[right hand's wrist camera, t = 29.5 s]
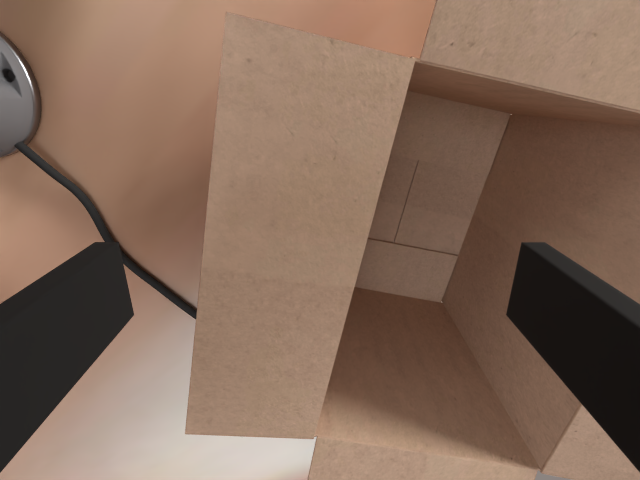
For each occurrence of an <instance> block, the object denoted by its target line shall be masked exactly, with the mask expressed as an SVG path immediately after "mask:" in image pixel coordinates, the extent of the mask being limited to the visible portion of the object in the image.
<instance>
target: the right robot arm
mask: <svg viewBox="0 0 640 480" xmlns="http://www.w3.org/2000/svg"><path fill="white" fill-rule="evenodd" d="M40 117H41V98H40V93H39V88H38V85H37V82H36V79H35V77H34V74H33V72H32V70H31V68H30V66H29V65H28V63H27V61H26V60H25V58H24V57H23V55H22V54H21V52H20V51H19V50H18V49H17V47H16V46H15V45H14V44H13V43H12V42H11V41H10V40H9V39H8V38H7V37H6V36H5V35H3V34H2V33H1V32H0V157H3V156H7V155H11V154H13V153H16V152H18V151H21V152H22V153H23V154H24V155H25V156H27V157H28V158H29V159H30V160H31V161H33V162H34V163H35V164H36V165H37V166H39V167H40V168H41V169H42V170H43V171H45V172H46V173H47V174H48V175H50V176H51V177H52V178H53V179H55V180H56V181H57V182H59V183H60V184H62V185H63V186H64V187H66V188H67V189H68V190H69V191H71V192H72V193H73V194H74V195H75V196H76V197H77V198H78V199H79V201H80V202H81V203H82V204H83V205H84V207H85V208H86V210H87V211H88V213H89V214H90V216H91V218H92V219H93V221H94V223H95V225H96V227H97V229H98V231H99V233H100V234H101V236H102V238H103V240H104V241H105V242H95V243H93V244H92V245H90V246H89V247H87V248H86V249H84V250H82V251H81V252H79V253H78V254H76V255H75V256H73V257H72V258H70V259H69V260H67V261H66V262H64V263H63V264H61V265H59V266H58V267H56V268H55V269H53V270H52V271H50V272H49V273H47V274H46V275H44V276H43V277H41V278H40V279H38V280H36V281H35V282H33V283H32V284H30V285H29V286H27V287H26V288H24V289H23V290H21V291H20V292H18V293H17V294H15V295H13V296H12V297H10V298H9V299H7V300H6V301H4V302H3V303H1V304H0V472H1V471H2V470H3V469H4V468H5V466H6V465H7V464H8V463H9V462H10V461H11V459H12V458H13V457H14V456H15V455H16V453H17V452H18V451H19V450H20V449H21V448H22V446H23V445H24V444H25V443H26V442H27V440H28V439H29V438H30V437H31V436H32V435H33V433H34V432H35V431H36V430H37V429H38V428H39V426H40V425H41V424H42V423H43V422H44V420H45V419H46V418H47V417H48V416H49V415H50V413H51V412H52V411H53V410H54V409H55V407H56V406H57V405H58V404H59V403H60V402H61V400H62V399H63V398H64V397H65V396H66V394H67V393H68V392H69V391H70V390H71V389H72V387H73V386H74V385H75V384H76V383H77V382H78V380H79V379H80V378H81V377H82V376H83V374H84V373H85V372H86V371H87V370H88V369H89V367H90V366H91V365H92V364H93V363H94V361H95V360H96V359H97V358H98V357H99V356H100V354H101V353H102V352H103V351H104V350H105V349H106V347H107V346H108V345H109V344H110V343H111V341H112V340H113V339H114V338H115V337H116V336H117V334H118V333H119V332H120V331H121V330H122V328H123V327H124V326H125V325H126V324H127V323H128V321H129V320H130V319H131V318H132V317H133V315H134V313H133V308H132V303H131V298H130V294H129V289H128V284H127V280H126V275H125V270H124V266H123V264H125V265H126V266H127V267H128V268H129V269H130V270H131V271H132V272H134V273H135V274H136V275H138V276H139V277H140V278H141V279H143V280H144V281H145V282H147V283H148V284H149V285H151V286H152V287H153V288H155V289H156V290H157V291H159V292H160V293H161V294H163V295H164V296H165V297H166V298H168V299H169V300H170V301H172V302H173V303H174V304H176V305H177V306H178V307H180V308H181V309H182V310H184V311H185V312H186V313H188V314H189V315H191V316H192V317H193V318H195V319H196V315H197V311H196V310H194V309H193V308H192V307H190V306H189V305H188V304H186V303H185V302H184V301H182V300H181V299H180V298H178V297H177V296H176V295H174V294H173V293H172V292H171V291H169V290H168V289H167V288H165V287H164V286H163V285H162V284H160V283H159V282H158V281H156V280H155V279H154V278H152V277H151V276H150V275H148V274H147V273H146V272H145V271H143V270H142V269H141V268H139V267H138V266H137V265H136V264H135V263H134V262H133V261H131V260H130V259H129V258H128V257H127V256H126V255H125V254H124V253H123V251H122V250H121V249H120V247H119V242H114V240H113V239H112V237H111V235H110V234H109V232H108V230H107V228H106V226H105V224H104V222H103V220H102V218H101V217H100V215H99V213H98V211H97V210H96V208H95V207H94V205H93V204H92V202H91V201H90V200H89V198H88V197H87V196H86V195H85V194H84V193H83V192H82V191H81V190H80V189H79V188H78V187H77V186H76V185H75V184H74V183H72V182H71V181H70V180H68V179H67V178H66V177H64V176H63V175H62V174H60V173H59V172H58V171H57V170H55V169H54V168H53V167H52V166H50V165H49V164H48V163H47V162H46V161H44V160H43V159H42V158H41V157H40V156H39V155H37V154H36V153H35V152H34V151H33V150H31V149H30V148H29V147H28V146H27V144H28V143H29V142H30V141H31V140H32V138H33V137H34V135H35V133H36V131H37V129H38V126H39V123H40ZM506 315H507V317H508V318H509V319H510V320H511V321H512V323H513V324H514V325H515V326H516V327H517V328H518V330H519V331H520V332H521V333H522V334H523V336H524V337H525V338H526V339H527V340H528V341H529V343H530V344H531V345H532V346H533V347H534V349H535V350H536V351H537V352H538V353H539V354H540V356H541V357H542V358H543V359H544V360H545V361H546V363H547V364H548V365H549V366H550V367H551V369H552V370H553V371H554V372H555V373H556V374H557V376H558V377H559V378H560V379H561V380H562V382H563V383H564V384H565V385H566V386H567V387H568V389H569V390H570V391H571V392H572V393H573V394H574V396H575V397H576V398H577V399H578V400H579V402H580V403H581V404H582V405H583V406H584V407H585V409H586V410H587V411H588V412H589V413H590V415H591V416H592V417H593V418H594V419H595V420H596V422H597V423H598V424H599V425H600V426H601V428H602V429H603V430H604V431H605V432H606V433H607V435H608V436H609V437H610V438H611V439H612V440H613V442H614V443H615V444H616V445H617V446H618V448H619V449H620V450H621V451H622V452H623V453H624V455H625V456H626V457H627V458H628V459H629V461H630V462H631V463H632V464H633V465H634V466H635V468H636V469H637V470H638V471H639V472H640V304H639V303H637V302H636V301H634V300H633V299H631V298H630V297H628V296H627V295H625V294H623V293H622V292H620V291H619V290H617V289H616V288H614V287H613V286H611V285H610V284H608V283H607V282H605V281H604V280H602V279H600V278H599V277H597V276H596V275H594V274H593V273H591V272H590V271H588V270H587V269H585V268H584V267H582V266H581V265H579V264H577V263H576V262H574V261H573V260H571V259H570V258H568V257H567V256H565V255H564V254H562V253H561V252H559V251H558V250H556V249H554V248H553V247H551V246H550V245H548V244H547V243H545V242H521V247H520V251H519V256H518V261H517V265H516V270H515V275H514V280H513V284H512V289H511V294H510V298H509V303H508V308H507V313H506Z"/></svg>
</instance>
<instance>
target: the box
mask: <svg viewBox="0 0 640 480" xmlns="http://www.w3.org/2000/svg"><path fill="white" fill-rule="evenodd" d="M511 114H512V115H511ZM415 168H416V169H415ZM413 175H414V176H413ZM412 178H413V179H412ZM410 185H411V186H410ZM409 188H410V189H409ZM407 195H408V196H407ZM406 198H407V199H406ZM404 205H405V206H404ZM401 215H402V216H401ZM399 222H400V223H399ZM398 225H399V226H398ZM396 232H397V233H396ZM395 235H396V236H395ZM393 242H394V243H393ZM521 242H545V243H547V244H548V245H550V246H551V247H553V248H554V249H556V250H558V251H559V252H561V253H562V254H564V255H565V256H567V257H568V258H570V259H571V260H573V261H574V262H576V263H577V264H579V265H581V266H582V267H584V268H585V269H587V270H588V271H590V272H591V273H593V274H594V275H596V276H597V277H599V278H600V279H602V280H604V281H605V282H607V283H608V284H610V285H611V286H613V287H614V288H616V289H617V290H619V291H620V292H622V293H623V294H625V295H627V296H628V297H630V298H631V299H633V300H634V301H636V302H637V303H639V304H640V0H436V3H435V7H434V10H433V14H432V17H431V21H430V24H429V28H428V31H427V35H426V38H425V42H424V45H423V49H422V52H421V56H420V59H418V58H414V57H410V58H409V57H405V56H401V55H397V54H393V53H389V52H385V51H381V50H377V49H373V48H369V47H365V46H361V45H357V44H353V43H349V42H345V41H341V40H337V39H333V38H329V37H325V36H321V35H317V34H313V33H309V32H305V31H301V30H297V29H293V28H289V27H285V26H281V25H277V24H273V23H269V22H265V21H261V20H257V19H253V18H249V17H245V16H241V15H237V14H233V13H229V12H226V16H225V26H224V36H223V47H222V57H221V67H220V78H219V88H218V98H217V109H216V119H215V129H214V140H213V150H212V160H211V171H210V181H209V191H208V202H207V212H206V222H205V233H204V243H203V253H202V264H201V274H200V284H199V295H198V305H197V315H196V326H195V336H194V346H193V357H192V367H191V378H190V388H189V398H188V409H187V419H186V429H185V434H195V435H221V436H246V437H272V438H298V439H314V437H316V436H317V439H316V443H315V448H314V453H313V457H312V462H311V466H310V471H309V476H308V480H535V477H536V474H537V471H538V470H539V471H540V472H541V473H542V474H547V475H552V476H558V477H563V478H568V479H573V480H640V472H639V471H638V470H637V469H636V468H635V466H634V465H633V464H632V463H631V462H630V461H629V459H628V458H627V457H626V456H625V455H624V453H623V452H622V451H621V450H620V449H619V448H618V446H617V445H616V444H615V443H614V442H613V440H612V439H611V438H610V437H609V436H608V435H607V433H606V432H605V431H604V430H603V429H602V428H601V426H600V425H599V424H598V423H597V422H596V420H595V419H594V418H593V417H592V416H591V415H590V413H589V412H588V411H587V410H586V409H585V407H584V406H583V405H582V404H581V403H580V402H579V400H578V399H577V398H576V397H575V396H574V394H573V393H572V392H571V391H570V390H569V389H568V387H567V386H566V385H565V384H564V383H563V382H562V380H561V379H560V378H559V377H558V376H557V374H556V373H555V372H554V371H553V370H552V369H551V367H550V366H549V365H548V364H547V363H546V361H545V360H544V359H543V358H542V357H541V356H540V354H539V353H538V352H537V351H536V350H535V349H534V347H533V346H532V345H531V344H530V343H529V341H528V340H527V339H526V338H525V337H524V336H523V334H522V333H521V332H520V331H519V330H518V328H517V327H516V326H515V325H514V324H513V323H512V321H511V320H510V319H509V318H508V317H507V315H506V313H507V308H508V303H509V298H510V294H511V289H512V284H513V280H514V275H515V270H516V265H517V261H518V256H519V251H520V247H521ZM441 301H442V302H443V303H441Z"/></svg>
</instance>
